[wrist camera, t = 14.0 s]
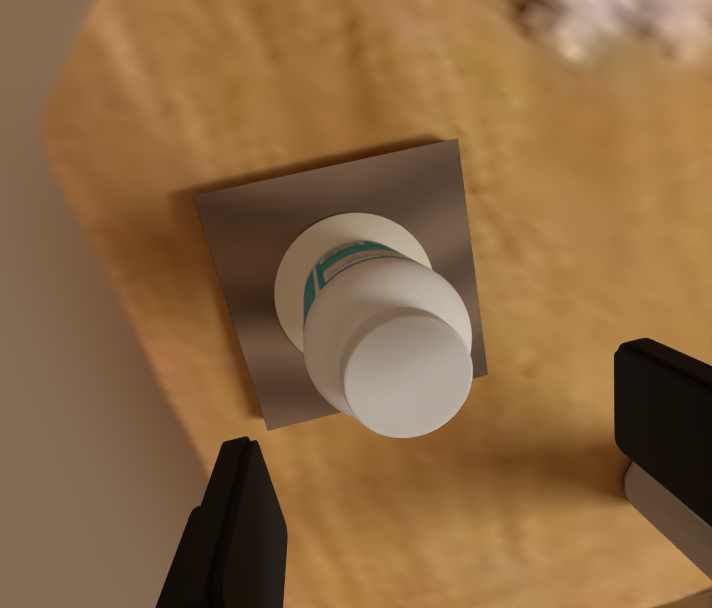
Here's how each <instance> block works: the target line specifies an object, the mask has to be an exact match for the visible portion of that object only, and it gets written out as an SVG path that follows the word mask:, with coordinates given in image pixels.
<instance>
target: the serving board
mask: <svg viewBox="0 0 712 608" xmlns="http://www.w3.org/2000/svg"><path fill="white" fill-rule="evenodd" d="M193 199H194V202H195V205H196V208H197V211H198V214H199V217H200V220H201V224H202V227H203V230H204V233H205V236H206V239H207V242H208V245H209V249H210V252H211V255H212V258H213V261H214V264H215V267H216V270H217V274H218V277H219V280H220V283H221V286H222V289H223V292H224V295H225V299H226V302H227V305H228V308H229V311H230V314H231V317H232V320H233V324H234V327H235V330H236V333H237V336H238V339H239V342H240V345H241V349H242V352H243V355H244V358H245V361H246V364H247V367H248V370H249V374H250V377H251V380H252V383H253V386H254V389H255V392H256V395H257V398H258V402H259V405H260V408H261V411H262V414H263V417H264V420H265V423H266V427H267V430H268V431H269V430H273V429H277V428H280V427H284V426H288V425H292V424H296V423H300V422H304V421H308V420H312V419H316V418H320V417H324V416H327V415H331V414H335V413H339V412H340V411H339V410H337V409H336V408H335V407H333V406H332V405H331V404H330V403H329V402H328V401H327V400H326V399H325V398H324V397H323V396H322V395H321V394H320V393H319V391H318V390H317V388H316V387H315V385H314V383H313V382H312V380H311V378H310V375H309V373H308V370H307V367H306V363H305V358H304V351H303V320H304V287H305V282H306V279H307V276H308V274H309V272H310V270H311V268H312V266H313V265H314V263H315V262H316V261H317V260H318V258H319V257H320V256H321V255H322V254H324V253H325V252H326V251H327V250H329V249H330V248H332V247H334V246H336V245H338V244H340V243H343V242H347V241H351V240H370V241H375V242H378V243H381V244H383V245H386V246H388V247H390V248H392V249H394V250H396V251H398V252H400V253H402V254H403V255H405V256H407V257H409V258H411V259H413V260H415V261H417V262H419V263H420V264H422V265H424V266H426V267H428V268H429V269H431V270H433V271H435V272H436V273H438V274H439V275H440V276H442V277H443V278H444V279H445V280H446V281H447V282H449V283H450V284H451V285H452V287H453V288H454V289H455V290H456V292H457V293H458V294H459V296H460V297H461V299H462V301H463V303H464V305H465V307H466V309H467V312H468V315H469V319H470V323H471V330H472V346H471V353H470V356H471V360H472V364H473V377H472V378H476V377H480V376H484V375H488V372H487V364H486V357H485V349H484V341H483V333H482V325H481V317H480V309H479V301H478V294H477V286H476V278H475V270H474V262H473V254H472V246H471V238H470V231H469V223H468V215H467V207H466V199H465V191H464V183H463V175H462V168H461V160H460V152H459V144H458V138H457V139H453V140H448V141H443V142H439V143H434V144H429V145H425V146H420V147H416V148H411V149H406V150H402V151H397V152H393V153H388V154H383V155H379V156H374V157H370V158H365V159H360V160H356V161H351V162H347V163H342V164H337V165H333V166H328V167H323V168H319V169H314V170H310V171H305V172H300V173H296V174H291V175H287V176H282V177H277V178H273V179H268V180H264V181H259V182H254V183H250V184H245V185H241V186H236V187H231V188H227V189H222V190H217V191H213V192H208V193H204V194H199V195H194V196H193Z"/></svg>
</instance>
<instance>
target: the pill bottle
mask: <svg viewBox="0 0 712 608" xmlns="http://www.w3.org/2000/svg"><path fill="white" fill-rule="evenodd" d="M471 346H472V330H471V323H470V319H469V315H468V312H467V309H466V307H465V305H464V303H463V301H462V299H461V297H460V296H459V294H458V293H457V292H456V290H455V289H454V288H453V287H452V285H451V284H450V283H449V282H447V281H446V280H445V279H444V278H443V277H442V276H440V275H439V274H438V273H436V272H435V271H433V270H431V269H429V268H428V267H426V266H424V265H422V264H420V263H419V262H417V261H415V260H413V259H411V258H409V257H407V256H405V255H403V254H402V253H400V252H398V251H396V250H394V249H392V248H390V247H388V246H386V245H383V244H381V243H378V242H375V241H370V240H351V241H347V242H343V243H340V244H338V245H336V246H334V247H332V248H330V249H329V250H327V251H326V252H325V253H324V254H322V255H321V256H320V257H319V258H318V260H317V261H316V262H315V263H314V265H313V266H312V268H311V270H310V272H309V274H308V276H307V279H306V282H305V287H304V320H303V351H304V358H305V363H306V367H307V370H308V373H309V375H310V378H311V380H312V382H313V383H314V385H315V387H316V388H317V390H318V391H319V393H320V394H321V395H322V396H323V397H324V398H325V399H326V400H327V401H328V402H329V403H330V404H331V405H332V406H333V407H335V408H336V409H337V410H339V411H340V412H342V413H344V414H346V415H348V416H350V417H352V418H354V419H357V420H358V421H359V422H361V423H362V424H363V425H364V426H365V427H367V428H369V429H370V430H372V431H374V432H376V433H378V434H381V435H384V436H388V437H393V438H410V437H416V436H420V435H424V434H427V433H429V432H431V431H434V430H436V429H438V428H439V427H441V426H442V425H444V424H445V423H446V422H448V421H449V420H450V419H451V418H452V417H453V416H454V415H455V414H456V413H457V412H458V410H459V409H460V408H461V406H462V405H463V403H464V402H465V400H466V398H467V396H468V393H469V391H470V387H471V383H472V377H473V364H472V360H471V356H470V353H471Z"/></svg>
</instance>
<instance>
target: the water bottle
mask: <svg viewBox="0 0 712 608" xmlns="http://www.w3.org/2000/svg"><path fill="white" fill-rule="evenodd" d="M624 490H625V496H626V497H627V498H628V500H629V501H630V502H631V504H632V505H633V506H634V508H636V509H637V510H638V511H639V512H640V513H641V514H642V515H643V516H644V517H645V518H646V519H647V520H648V521H649V522H650V523H651V524H653V525H654V526H655V527H656V528H657V529H658V530H659V531H660V532H661V533H662V534H663V535H664V536H665V537H666V538H667V539H668V540H669V541H671V542H672V543H673V544H674V545H675V546H676V547H677V548H678V549H679V550H680V551H681V552H682V553H683V554H684V555H685V556H686V557H688V558H689V559H690V560H691V561H692V562H693V563H694V564H695V565H696V566H697V567H698V568H699V569H700V570H701V571H702V572H703V573H704V574H706V575H707V576H708V577H709V578H710V579H711V580H712V527H711V526H709V525H708V524H707V523H706V522H705V521H703V520H702V519H701V518H700V517H699V516H698V515H696V514H695V513H694V512H693V511H692V510H690V509H689V508H688V507H687V506H686V505H685V504H683V503H682V502H681V501H680V500H679V499H677V498H676V497H675V496H674V495H673V494H672V493H670V492H669V491H668V490H667V489H666V488H664V487H663V486H662V485H661V484H660V483H658V482H657V481H656V480H655V479H654V478H653V477H651V476H650V475H649V474H648V473H647V472H645V471H644V470H643V469H642V468H641V467H640V466H638V465H637V464H636V463H635V462H634V461H633V462H632V464H631V466H630V467H629V469H628V471H627V472H626V474H625V489H624Z"/></svg>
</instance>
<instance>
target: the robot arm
mask: <svg viewBox="0 0 712 608" xmlns="http://www.w3.org/2000/svg"><path fill="white" fill-rule="evenodd" d="M614 423H615V441H616V444H617V445H618V447H619V449H620V450H621V451H622V452H623V453H624V454H625V455H627V456H628V457H629V458H630V459H631V460H632V461H634V462H635V463H636V464H637V465H638V466H640V467H641V468H642V469H643V470H644V471H645V472H647V473H648V474H649V475H650V476H651V477H653V478H654V479H655V480H656V481H657V482H658V483H660V484H661V485H662V486H663V487H664V488H666V489H667V490H668V491H669V492H670V493H672V494H673V495H674V496H675V497H676V498H677V499H679V500H680V501H681V502H682V503H683V504H685V505H686V506H687V507H688V508H689V509H690V510H692V511H693V512H694V513H695V514H696V515H698V516H699V517H700V518H701V519H702V520H703V521H705V522H706V523H707V524H708V525H709V526H711V527H712V366H711V365H708V364H706V363H704V362H701V361H699V360H697V359H695V358H692V357H690V356H688V355H686V354H683V353H681V352H679V351H677V350H674V349H672V348H670V347H667V346H665V345H663V344H661V343H658V342H656V341H654V340H652V339H649V338H641V339H637V340H633V341H629V342H625V343H622V344H621V345H620V346H619V348H618V350H617V351H616V352H615V354H614ZM286 554H287V527H286V523H285V520H284V517H283V514H282V511H281V508H280V505H279V502H278V499H277V496H276V493H275V490H274V487H273V484H272V481H271V478H270V476H269V473H268V470H267V467H266V464H265V461H264V458H263V455H262V452H261V449H260V446H259V444H258V442H257V441H256V440H254V441H250V439H249V438H248V437H247V436H245V437H241V438H237V439H233V440H229V441H225V442H223V444H222V446H221V449H220V452H219V455H218V458H217V460H216V463H215V466H214V469H213V472H212V475H211V478H210V480H209V483H208V486H207V489H206V492H205V495H204V498H203V501H202V503H201V506H198V507H196V508H194V509H193V510H192V512H191V514H190V516H189V519H188V522H187V524H186V527H185V530H184V532H183V535H182V538H181V541H180V543H179V546H178V548H177V551H176V554H175V557H174V559H173V562H172V565H171V567H170V570H169V573H168V576H167V578H166V581H165V583H164V587H163V589H162V592H161V594H160V597H159V600H158V602H157V605H156V608H283V599H284V584H285V569H286ZM656 608H712V592H709V593H706V594H702V595H699V596H695V597H692V598H688V599H684V600H681V601H677V602H674V603H670V604H667V605H663V606H659V607H656Z"/></svg>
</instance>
